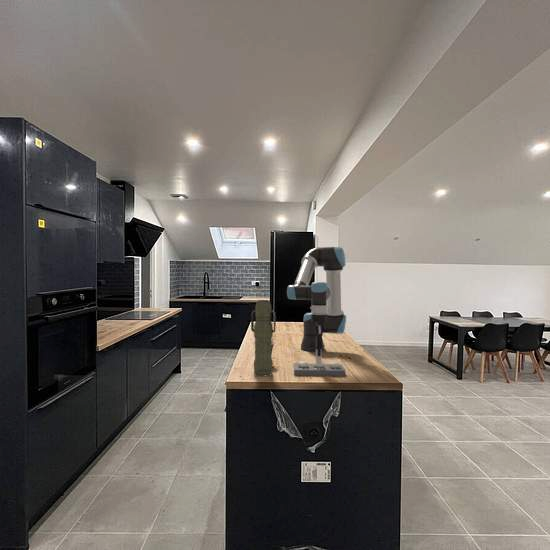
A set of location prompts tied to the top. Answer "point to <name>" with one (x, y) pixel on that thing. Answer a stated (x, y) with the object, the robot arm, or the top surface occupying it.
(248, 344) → the top surface
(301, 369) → the button panel
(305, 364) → the button two dots
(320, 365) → the button three dots
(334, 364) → the button one dot
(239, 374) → the top surface
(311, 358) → the top surface
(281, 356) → the top surface
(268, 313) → the thermos
